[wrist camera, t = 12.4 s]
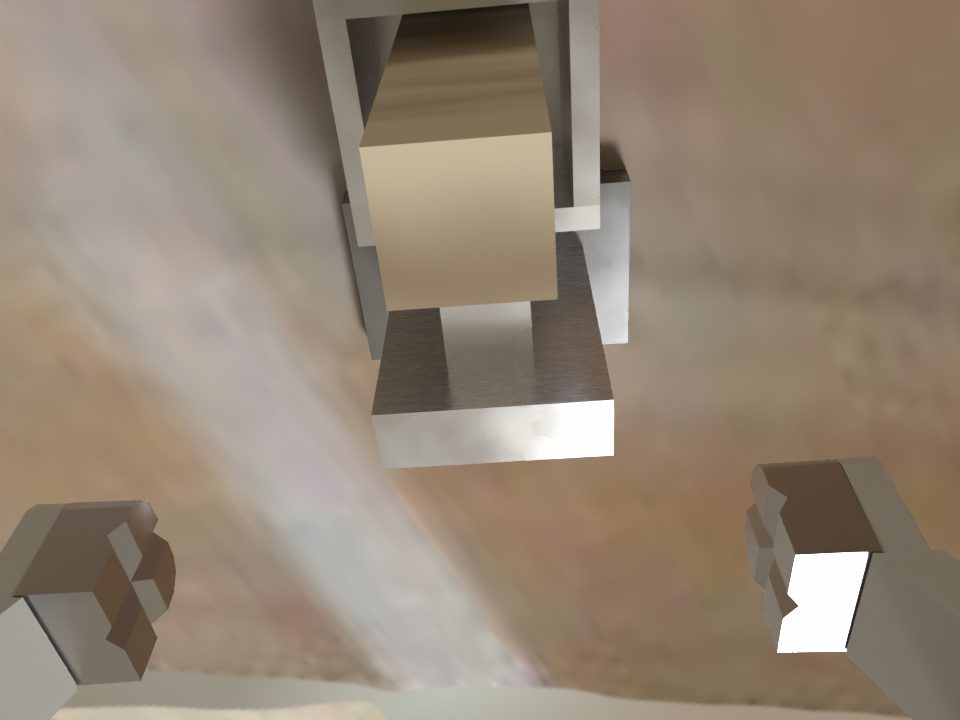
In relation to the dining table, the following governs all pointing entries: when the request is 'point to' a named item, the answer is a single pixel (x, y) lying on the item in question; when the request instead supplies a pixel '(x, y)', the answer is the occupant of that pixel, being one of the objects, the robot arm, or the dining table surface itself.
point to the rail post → (462, 163)
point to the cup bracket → (502, 326)
